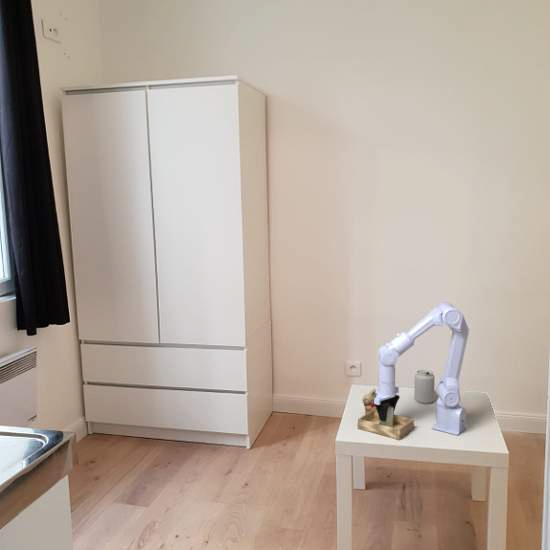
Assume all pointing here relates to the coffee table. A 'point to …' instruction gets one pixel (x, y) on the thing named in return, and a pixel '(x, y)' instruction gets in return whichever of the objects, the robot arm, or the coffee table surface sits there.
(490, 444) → the coffee table surface
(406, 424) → the bamboo box
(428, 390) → the can
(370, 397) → the beige lumpy upright piece
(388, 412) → the rounded sage cylinder
